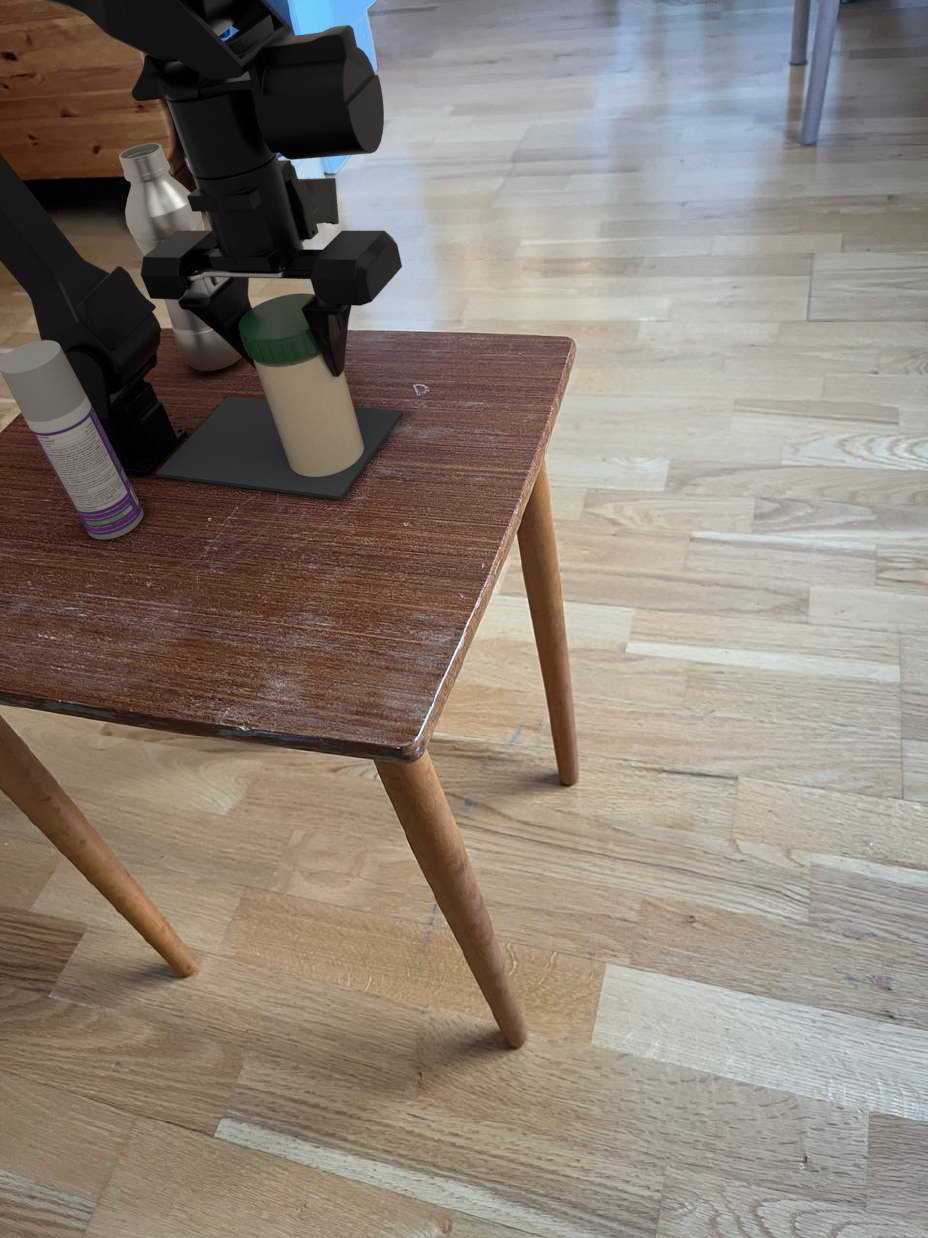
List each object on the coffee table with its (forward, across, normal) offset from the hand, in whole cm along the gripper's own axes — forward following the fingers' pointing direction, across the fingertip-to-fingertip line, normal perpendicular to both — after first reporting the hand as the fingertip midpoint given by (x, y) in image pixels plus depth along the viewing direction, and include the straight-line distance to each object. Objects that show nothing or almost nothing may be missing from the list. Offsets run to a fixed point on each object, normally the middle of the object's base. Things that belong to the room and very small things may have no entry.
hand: (300, 371), depth 74 cm
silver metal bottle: (+8, +19, -13) cm, 25 cm away
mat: (+8, +5, -1) cm, 10 cm away
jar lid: (-4, 0, 0) cm, 4 cm away
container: (+8, +14, +11) cm, 20 cm away
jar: (+8, 0, 0) cm, 8 cm away
